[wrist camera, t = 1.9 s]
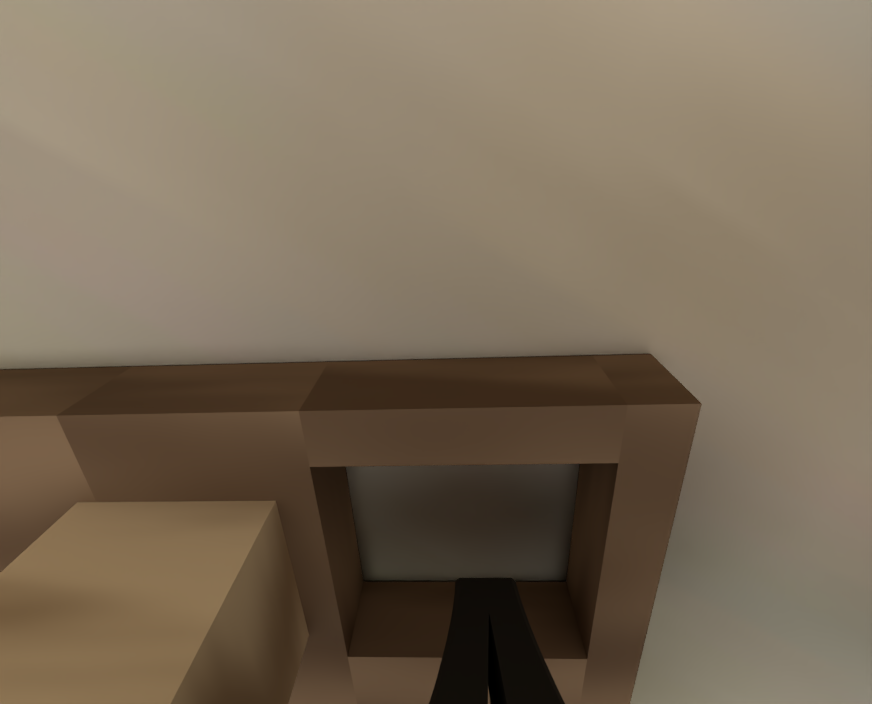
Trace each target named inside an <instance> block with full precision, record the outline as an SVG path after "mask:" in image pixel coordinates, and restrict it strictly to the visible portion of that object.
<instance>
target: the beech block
mask: <svg viewBox="0 0 872 704" xmlns="http://www.w3.org/2000/svg"><path fill="white" fill-rule="evenodd" d="M308 637H309V633H308V629H307V624H306V620H305V616H304V612H303V608H302V604H301V600H300V596H299V592H298V588H297V584H296V580H295V576H294V572H293V568H292V564H291V560H290V556H289V552H288V548H287V544H286V540H285V536H284V532H283V528H282V524H281V520H280V516H279V512H278V508H277V504H276V501H183V502H77V503H76V504H75V505H74V506H73V507H72V508H71V509H69V510H68V511H67V512H66V513H65V514H64V515H63V516H62V517H61V518H60V519H58V520H57V521H56V522H55V523H54V524H53V525H52V526H51V527H50V528H49V529H48V530H46V531H45V532H44V533H43V534H42V535H41V536H40V537H39V538H38V539H37V540H35V541H34V542H33V543H32V544H31V545H30V546H29V547H28V548H27V549H26V550H25V551H23V552H22V553H21V554H20V555H19V556H18V557H17V558H16V559H15V560H14V561H13V562H11V563H10V564H9V565H8V566H7V567H6V568H5V569H4V570H3V571H2V572H0V704H288V703H289V700H290V697H291V693H292V690H293V687H294V683H295V680H296V677H297V673H298V670H299V667H300V663H301V660H302V657H303V653H304V650H305V647H306V643H307V640H308Z"/></svg>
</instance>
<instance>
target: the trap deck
mask: <svg viewBox="0 0 872 704" xmlns="http://www.w3.org/2000/svg"><path fill="white" fill-rule="evenodd" d="M700 408H701V403H700V402H699V401H698V400H697V399H696V398H695V397H694V396H693V395H692V394H691V393H690V392H689V391H688V390H687V389H686V388H685V387H684V386H683V385H682V384H681V383H680V382H679V381H678V380H677V379H676V378H675V377H674V376H673V375H672V374H671V373H670V372H669V371H668V370H667V369H666V368H665V367H664V366H663V365H661V364H660V363H659V362H658V361H657V360H656V359H655V358H654V357H653V356H652V355H651V354H636V355H594V356H553V357H511V358H470V359H428V360H386V361H345V362H303V363H262V364H220V365H178V366H137V367H95V368H54V369H12V370H0V572H2V571H3V570H4V569H5V568H6V567H7V566H8V565H9V564H10V563H11V562H13V561H14V560H15V559H16V558H17V557H18V556H19V555H20V554H21V553H22V552H23V551H25V550H26V549H27V548H28V547H29V546H30V545H31V544H32V543H33V542H34V541H35V540H37V539H38V538H39V537H40V536H41V535H42V534H43V533H44V532H45V531H46V530H48V529H49V528H50V527H51V526H52V525H53V524H54V523H55V522H56V521H57V520H58V519H60V518H61V517H62V516H63V515H64V514H65V513H66V512H67V511H68V510H69V509H71V508H72V507H73V506H74V505H75V504H76V503H77V502H183V501H276V504H277V508H278V512H279V516H280V520H281V524H282V528H283V532H284V536H285V540H286V544H287V548H288V552H289V556H290V560H291V564H292V568H293V572H294V576H295V580H296V584H297V588H298V592H299V596H300V600H301V604H302V608H303V612H304V616H305V620H306V624H307V629H308V633H309V637H308V640H307V643H306V647H305V650H304V653H303V657H302V660H301V663H300V667H299V670H298V673H297V677H296V680H295V683H294V687H293V690H292V693H291V697H290V700H289V703H288V704H429V702H430V699H431V696H432V692H433V689H434V686H435V683H436V679H437V675H438V672H439V668H440V664H441V660H442V656H443V652H444V648H445V644H446V640H447V636H448V631H449V626H450V621H451V616H452V610H453V602H454V594H455V582H363V575H362V569H361V563H360V557H359V550H358V544H357V538H356V531H355V525H354V519H353V512H352V506H351V500H350V493H349V487H348V481H347V474H346V468H345V466H423V465H505V464H580V467H579V476H578V485H577V493H576V502H575V511H574V520H573V528H572V537H571V546H570V554H569V563H568V572H567V580H566V582H516V584H517V588H518V592H519V595H520V598H521V601H522V604H523V607H524V610H525V613H526V616H527V618H528V621H529V624H530V626H531V629H532V631H533V634H534V636H535V639H536V641H537V644H538V646H539V648H540V651H541V653H542V655H543V658H544V660H545V662H546V664H547V666H548V669H549V671H550V673H551V675H552V677H553V679H554V682H555V684H556V686H557V688H558V690H559V692H560V694H561V697H562V699H563V701H564V703H565V704H630V701H631V696H632V692H633V688H634V684H635V680H636V675H637V671H638V667H639V663H640V659H641V655H642V650H643V646H644V642H645V638H646V634H647V630H648V625H649V621H650V617H651V613H652V609H653V604H654V600H655V596H656V592H657V588H658V584H659V579H660V575H661V571H662V567H663V563H664V559H665V554H666V550H667V546H668V542H669V538H670V534H671V529H672V525H673V521H674V517H675V513H676V508H677V504H678V500H679V496H680V492H681V488H682V483H683V479H684V475H685V471H686V467H687V463H688V458H689V454H690V450H691V446H692V442H693V437H694V433H695V429H696V425H697V421H698V417H699V412H700ZM488 704H490V696H489V689H488Z"/></svg>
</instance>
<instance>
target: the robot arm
mask: <svg viewBox="0 0 872 704" xmlns="http://www.w3.org/2000/svg"><path fill="white" fill-rule="evenodd" d="M488 689H489V696H490V704H565V703H564V701H563V699H562V697H561V694H560V692H559V690H558V688H557V686H556V684H555V682H554V679H553V677H552V675H551V673H550V671H549V669H548V666H547V664H546V662H545V660H544V658H543V655H542V653H541V651H540V648H539V646H538V644H537V641H536V639H535V636H534V634H533V631H532V629H531V626H530V624H529V621H528V618H527V616H526V613H525V610H524V607H523V604H522V601H521V598H520V595H519V592H518V588H517V584H516V581H514V580H513V579H512V578H459V579H458V580H457V581H455V594H454V602H453V610H452V616H451V621H450V626H449V631H448V636H447V640H446V644H445V648H444V652H443V656H442V660H441V664H440V668H439V672H438V675H437V679H436V683H435V686H434V689H433V692H432V696H431V699H430V702H429V704H488Z"/></svg>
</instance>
